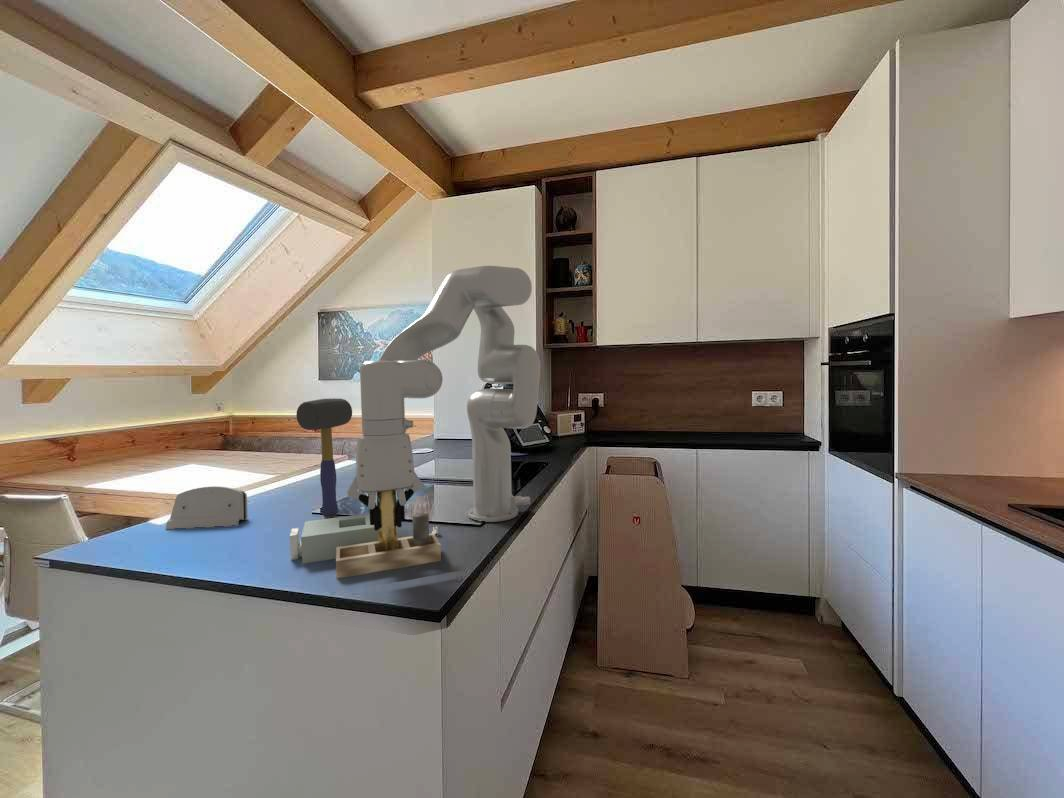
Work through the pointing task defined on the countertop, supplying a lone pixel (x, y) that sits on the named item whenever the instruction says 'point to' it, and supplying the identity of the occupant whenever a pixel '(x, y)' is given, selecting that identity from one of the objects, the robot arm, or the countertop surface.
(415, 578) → the countertop surface
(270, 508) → the countertop surface
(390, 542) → the gold cylindrical peg
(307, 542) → the socket block
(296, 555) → the t-shaped push slider
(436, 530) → the adhesive hook
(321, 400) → the rubber mallet
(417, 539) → the rack
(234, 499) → the grey rounded block
